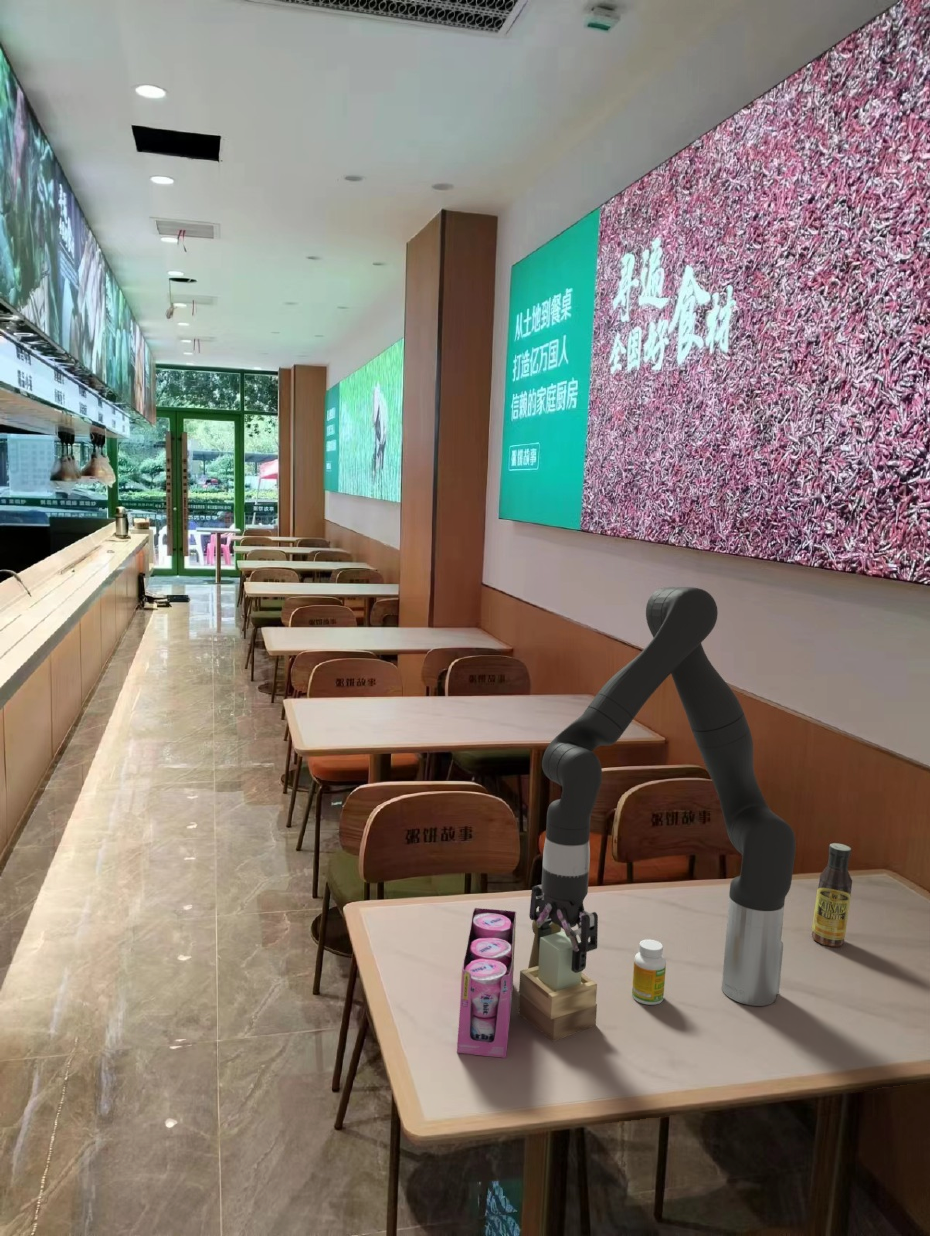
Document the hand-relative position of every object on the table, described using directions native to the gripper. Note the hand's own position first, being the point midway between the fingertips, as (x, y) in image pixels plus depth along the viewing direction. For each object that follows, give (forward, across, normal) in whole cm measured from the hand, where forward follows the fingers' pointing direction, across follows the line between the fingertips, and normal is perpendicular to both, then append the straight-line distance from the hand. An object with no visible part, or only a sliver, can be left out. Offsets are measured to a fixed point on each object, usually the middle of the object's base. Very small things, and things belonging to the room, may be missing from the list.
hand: (560, 959), depth 150 cm
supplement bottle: (+10, -3, -18) cm, 21 cm away
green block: (+4, 0, 0) cm, 4 cm away
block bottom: (+11, 0, 0) cm, 11 cm away
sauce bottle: (+10, -6, -66) cm, 67 cm away
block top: (+7, 0, 0) cm, 7 cm away
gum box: (+10, +6, +10) cm, 16 cm away
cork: (+10, +12, -7) cm, 17 cm away
